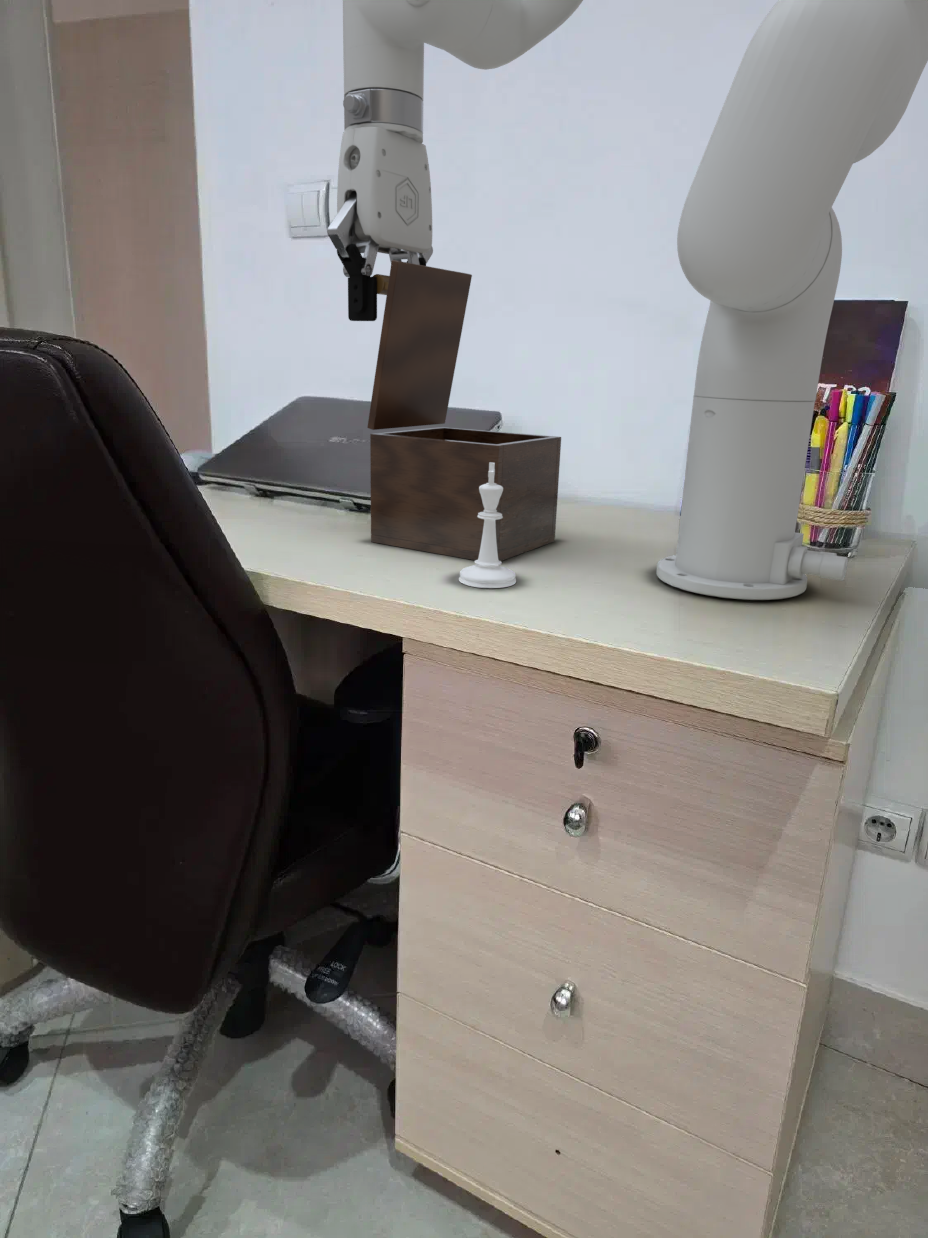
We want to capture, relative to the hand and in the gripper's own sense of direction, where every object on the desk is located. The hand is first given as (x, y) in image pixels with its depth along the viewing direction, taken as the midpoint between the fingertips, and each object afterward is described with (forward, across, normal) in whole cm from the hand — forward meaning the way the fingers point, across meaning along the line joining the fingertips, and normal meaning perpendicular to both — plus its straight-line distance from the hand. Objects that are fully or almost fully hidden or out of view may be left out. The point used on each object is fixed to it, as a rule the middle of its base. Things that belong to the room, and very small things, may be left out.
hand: (384, 320), depth 84 cm
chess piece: (+22, -12, -20) cm, 32 cm away
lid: (+3, 0, -5) cm, 6 cm away
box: (+21, 0, -10) cm, 24 cm away
